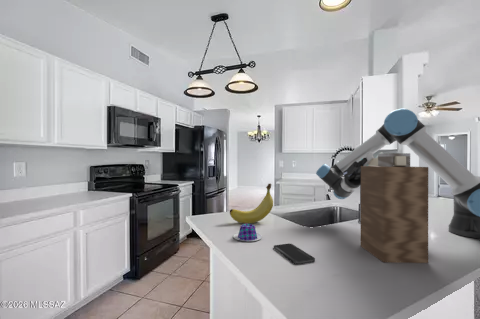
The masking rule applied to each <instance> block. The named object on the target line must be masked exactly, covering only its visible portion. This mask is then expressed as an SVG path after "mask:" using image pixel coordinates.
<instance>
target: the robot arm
mask: <svg viewBox="0 0 480 319" xmlns="http://www.w3.org/2000/svg"><path fill="white" fill-rule="evenodd" d="M426 129H427V127H426V125H425V124H424V123H423V122H421V121H420V120H419V118H418V116H417V115H416V113H415V112H413V111H412V110H410V109H407V108H398V109H395V110H392V111H391V112H390V113H388V114H387V115H386V117H385V118H384V121H383V124H382V125H381V127H379V128H377V130H376V131H375V134H373V135H372V136H370V137H369V138H368V139H367V140H365V141H364V142H363V143H361V144H360V145H359V146H357V147H356V148H355V149H353V150H352V151H351V152H349V153H348V154H347V155H345V156H344V157H343V158H341V159H340V160H339V161H337V162H336V163H335V164H333V165H332V166H330V165H328V164H327V163H324V164H322V165H321V166H320V167H319V168H318V169H317V170H316V171H315V174H316V176H318V178H319V179H320V180H322V181H323V182H324V183H325V184H327V185H328V187H330V188H331V189H332V191H333V192H332V193H333V195H334V197H335V198H336V199H339V200H345V199H347V198H349V196H351V194H352V193H354V192H355V191H356V190H357V189H359V187H361V166H363V165H364V166H367V165H368V164H369V163H370V162H371V161H372V160H373V159H374V158H378V154H384V152H383V151H381V152H379V153H378V154H377V155H376V156H375V157H374V154H376V152H378V151H379V150H381V149H383V148H384V147H385V146H388V145H389V146H390V145H391V144H393V143H395V142H397V143H398V144H400V145H401V146H407V147H408V148H409V149H410V150H411V151H412V152H413V153H414V154H415V155H416V156H418V158H420V160H421V161H422V162H424V163H425V164H426V165H427V167H428V168H430V169H431V170H432V171H433V172H434V173H435V174H436V175H437V176H438V177H440V178H441V180H443V181H444V182H445V183H446V184H447V185H448V186H449V187H450V188H451V195H452V196H453V215H452V218H451V220H450V223H449V224H448V232H449V233H452V234H455V235H458V236H460V237H462V236H463V237H466V238H471V239H472V238H473V239H479V240H480V176H478V175H477V176H476V175H474V174H473V173H472V172H471V171H470V170H468V168H466V167H465V165H463V164H462V163H461V162H460V161H459V160H458V159H456V157H454V156H453V155H452V154H451V153H450V152H448V151H447V150H446V148H444V147H443V145H441V144H440V143H438V141H436V140H435V139H434V138H433V137H432V136H431V135H430V134H428V133H427V131H426ZM361 159H362V160H361Z"/></svg>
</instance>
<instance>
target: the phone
mask: <svg viewBox="0 0 480 319" xmlns="http://www.w3.org/2000/svg"><path fill="white" fill-rule="evenodd" d="M273 250H275V251H276V252H277V253H279V254H280V255H281V256H283V257H284V258H285V259H286V260H288V262H290V263H292V264H293V265H296V266H298V265H304V264H310V263H311V264H312V263H315V261H316V258H315V256H312V255H311V254H309V253H307V252H306V251H304V250H302V249H301V248H299V247H298V246H296V245H294V243H282V244H274V245H273Z"/></svg>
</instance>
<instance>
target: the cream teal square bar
mask: <svg viewBox="0 0 480 319" xmlns="http://www.w3.org/2000/svg"><path fill="white" fill-rule="evenodd" d="M361 160H362V159H361ZM363 166H364V165H363ZM367 166H378V158H375V157H374V159H373V160H372V161H371V162H370V163H369V164H368V165H367ZM393 166H406V156H393Z"/></svg>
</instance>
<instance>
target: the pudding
mask: <svg viewBox="0 0 480 319" xmlns="http://www.w3.org/2000/svg"><path fill="white" fill-rule="evenodd" d="M255 226H256V225H254V224H253V223H242V224H241V225H240V226H239V232H237V233H234V234H233V236H232V237H233V238H234V239H235V240H238V241H242V242H250V241H252V242H255V241H259V240H261V239H262V238H263V235H262V234H260V233H258V232H257V230H256V227H255Z"/></svg>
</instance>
